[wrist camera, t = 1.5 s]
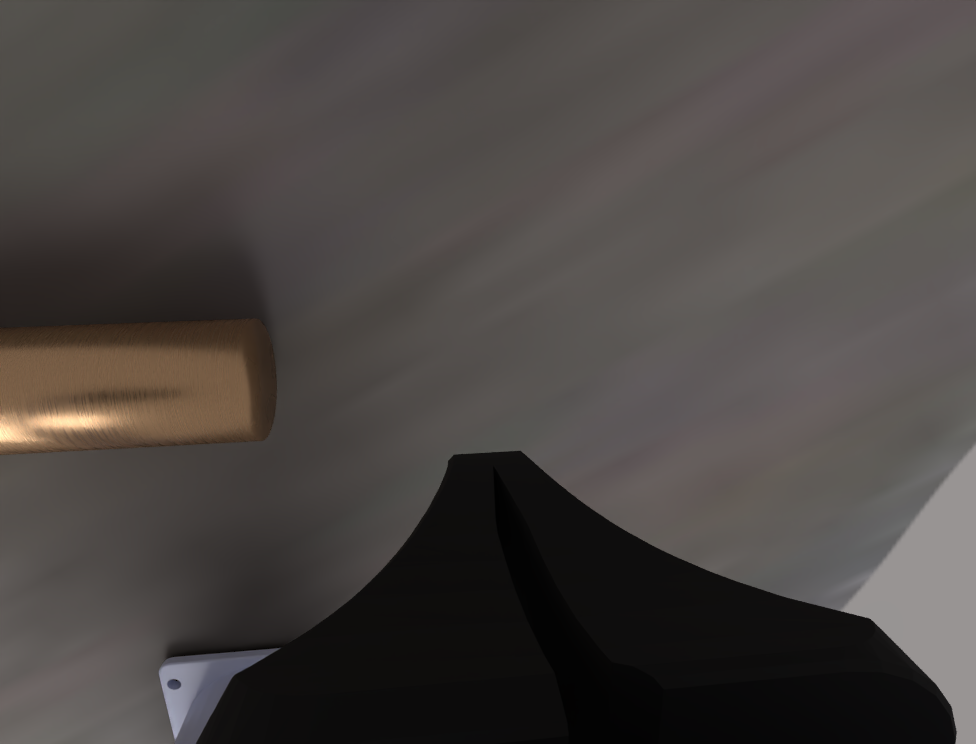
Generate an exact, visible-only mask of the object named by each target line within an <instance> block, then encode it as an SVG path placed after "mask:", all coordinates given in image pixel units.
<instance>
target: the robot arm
mask: <svg viewBox="0 0 976 744" xmlns="http://www.w3.org/2000/svg"><path fill="white" fill-rule="evenodd" d="M159 677H160V681H161V685H162V690H163V694H164V698H165V702H166V706H167V710H168V714H169V718H170V722H171V726H172V730H173V735H174V739H175V742H174V744H955V742H956V727H955V722H954V717H953V712H952V708H951V706H950V704H949V703H948V701H947V700H946V698H945V697H944V695H943V694H942V692H941V691H940V689H939V688H938V687H937V685H936V684H935V683H934V682H933V681H932V680H931V679H930V678H929V677H928V676H927V675H926V674H925V673H924V672H923V671H922V670H921V669H920V668H919V667H918V666H917V665H916V664H915V663H914V662H913V661H912V660H911V659H910V658H909V657H908V656H907V655H906V654H905V653H904V652H903V651H902V650H901V649H900V648H899V647H898V646H897V645H896V644H895V643H894V642H893V641H892V640H891V639H890V638H889V637H888V636H887V635H886V634H885V633H884V632H883V631H882V630H881V629H880V628H879V627H878V626H877V625H876V624H875V623H874V622H873V621H872V620H871V619H869V618H865V617H861V616H857V615H853V614H849V613H845V612H841V611H837V610H833V609H829V608H825V607H821V606H817V605H813V604H809V603H805V602H801V601H797V600H794V599H790V598H786V597H783V596H779V595H776V594H773V593H770V592H767V591H764V590H761V589H758V588H755V587H752V586H749V585H746V584H743V583H739V582H736V581H734V580H731V579H728V578H726V577H723V576H720V575H718V574H715V573H712V572H710V571H707V570H705V569H703V568H700V567H698V566H696V565H693V564H691V563H689V562H686V561H684V560H682V559H679V558H677V557H675V556H673V555H670V554H668V553H666V552H664V551H662V550H660V549H658V548H656V547H654V546H652V545H650V544H649V543H647V542H645V541H643V540H641V539H639V538H638V537H636V536H634V535H632V534H630V533H628V532H627V531H625V530H623V529H621V528H620V527H618V526H617V525H615V524H613V523H612V522H610V521H609V520H607V519H606V518H604V517H603V516H601V515H600V514H598V513H597V512H595V511H594V510H592V509H591V508H589V507H588V506H587V505H585V504H584V503H583V502H581V501H580V500H578V499H577V498H576V497H574V496H573V495H572V494H571V493H569V492H568V491H567V490H566V489H564V488H563V487H562V486H561V485H559V484H558V483H557V482H556V481H555V480H553V479H552V478H551V477H550V476H549V475H547V474H546V473H545V472H544V471H543V470H542V469H541V468H539V467H538V466H537V465H536V464H535V463H534V462H533V461H532V460H530V459H529V458H528V457H527V456H526V455H525V454H524V453H522V452H521V451H510V452H492V453H475V454H458V455H454V456H453V457H452V458H451V459H450V460H449V461H448V467H447V470H446V473H445V476H444V478H443V481H442V483H441V485H440V487H439V489H438V491H437V493H436V495H435V497H434V499H433V501H432V503H431V504H430V506H429V508H428V510H427V511H426V513H425V515H424V516H423V518H422V519H421V521H420V522H419V524H418V525H417V527H416V528H415V530H414V531H413V533H412V534H411V535H410V537H409V538H408V539H407V541H406V542H405V543H404V545H403V546H402V547H401V548H400V550H399V551H398V552H397V553H396V555H395V556H394V557H393V558H392V559H391V560H390V561H389V563H388V564H387V565H386V566H385V567H384V568H383V569H382V570H381V571H380V572H379V573H378V574H377V575H376V576H375V577H374V578H373V579H372V580H371V581H370V582H369V583H368V584H367V585H366V586H365V587H364V588H363V589H362V590H361V591H360V592H359V593H358V594H357V595H355V596H354V597H353V598H352V599H351V600H349V601H348V602H347V603H346V604H344V605H343V606H342V607H341V608H339V609H338V610H337V611H335V612H334V613H333V614H332V615H330V616H329V617H327V618H326V619H325V620H323V621H322V622H320V623H319V624H318V625H316V626H315V627H313V628H312V629H311V630H309V631H308V632H306V633H305V634H303V635H301V636H300V637H298V638H297V639H295V640H294V641H292V642H290V643H289V644H287V645H285V646H284V647H282V648H275V649H263V650H251V651H240V652H228V653H216V654H204V655H192V656H180V657H171V658H168V659H166V660H165V661H164V662H163V664H162V666H161V667H160V669H159ZM173 679H177V680H179V681H180V682H179V681H175V680H173Z"/></svg>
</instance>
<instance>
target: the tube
mask: <svg viewBox="0 0 976 744" xmlns="http://www.w3.org/2000/svg"><path fill="white" fill-rule="evenodd" d="M276 397H277V380H276V367H275V359H274V353H273V348H272V344H271V340H270V337H269V334H268V331H267V329H266V327H265V326H264V324H263V323H262V321H260V320H259V319H229V320H202V321H175V322H148V323H121V324H93V325H66V326H39V327H12V328H0V455H9V454H27V453H46V452H64V451H83V450H101V449H120V448H138V447H156V446H175V445H193V444H212V443H230V442H249V441H263V440H265V439H266V438H267V437H268V435H269V433H270V431H271V428H272V425H273V421H274V416H275V409H276Z"/></svg>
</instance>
